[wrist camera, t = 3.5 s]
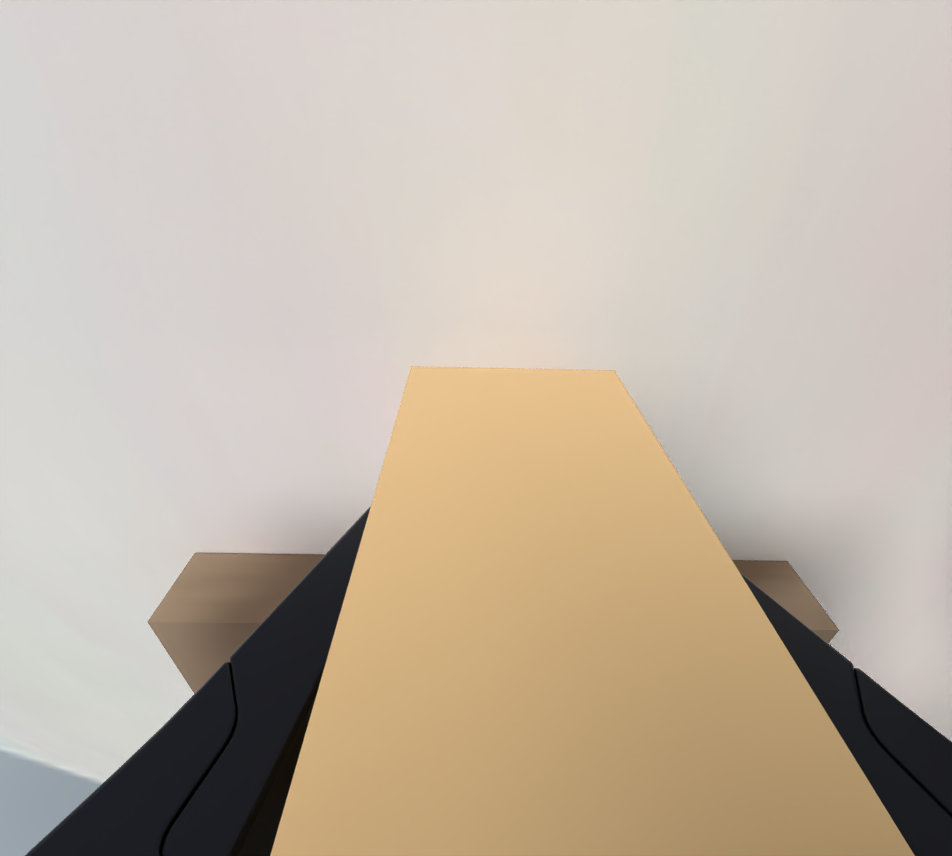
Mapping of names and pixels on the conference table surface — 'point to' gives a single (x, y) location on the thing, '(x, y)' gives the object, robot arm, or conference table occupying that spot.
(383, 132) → the conference table surface
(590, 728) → the tan cardboard-colored box
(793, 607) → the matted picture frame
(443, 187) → the conference table surface
